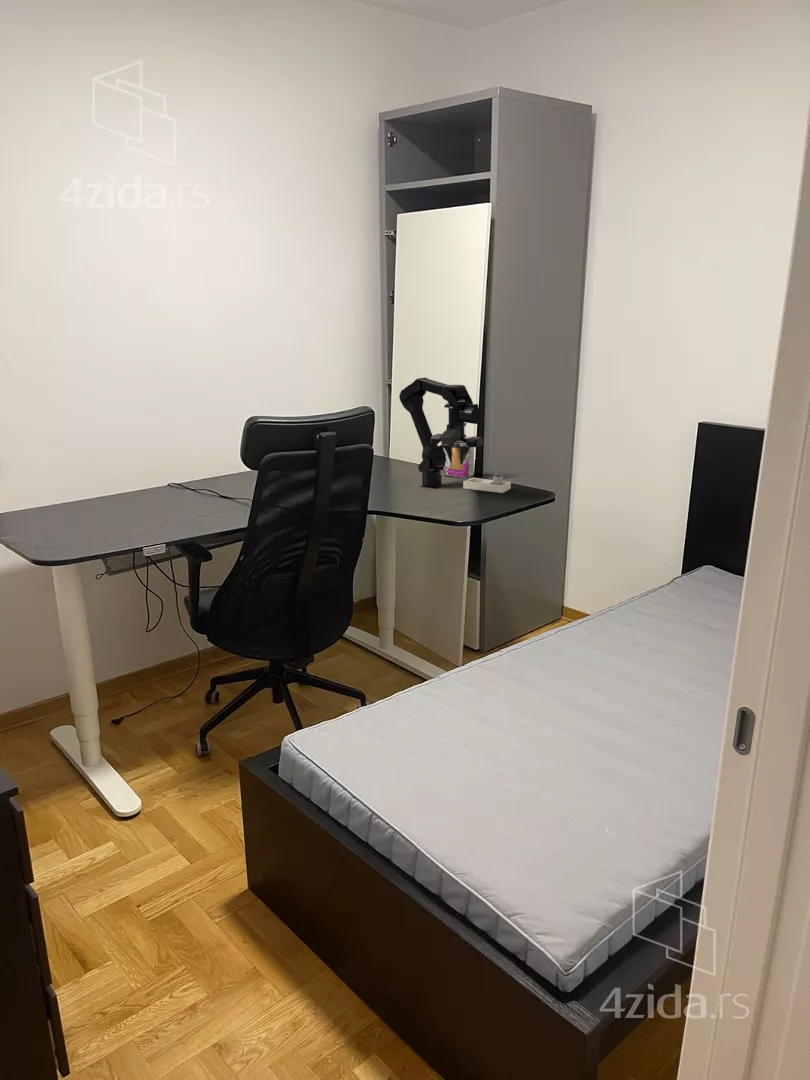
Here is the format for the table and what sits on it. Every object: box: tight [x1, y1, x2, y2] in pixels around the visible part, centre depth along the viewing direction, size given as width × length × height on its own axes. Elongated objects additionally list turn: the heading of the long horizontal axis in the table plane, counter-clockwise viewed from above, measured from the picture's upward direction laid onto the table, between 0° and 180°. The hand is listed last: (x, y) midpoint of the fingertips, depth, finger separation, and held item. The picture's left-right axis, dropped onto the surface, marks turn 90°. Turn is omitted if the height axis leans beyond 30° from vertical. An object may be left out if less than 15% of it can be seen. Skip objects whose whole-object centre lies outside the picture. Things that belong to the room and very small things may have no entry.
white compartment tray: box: [462, 477, 512, 494], centre depth 291 cm, size 16×7×4 cm, turn 59°
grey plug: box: [492, 472, 504, 485], centre depth 288 cm, size 4×4×6 cm
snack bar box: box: [443, 435, 475, 479], centre depth 311 cm, size 11×5×16 cm, turn 58°
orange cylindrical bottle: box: [452, 443, 462, 470], centre depth 285 cm, size 4×4×9 cm
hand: (456, 463), depth 286 cm, fingers closed on orange cylindrical bottle, 4 cm apart
